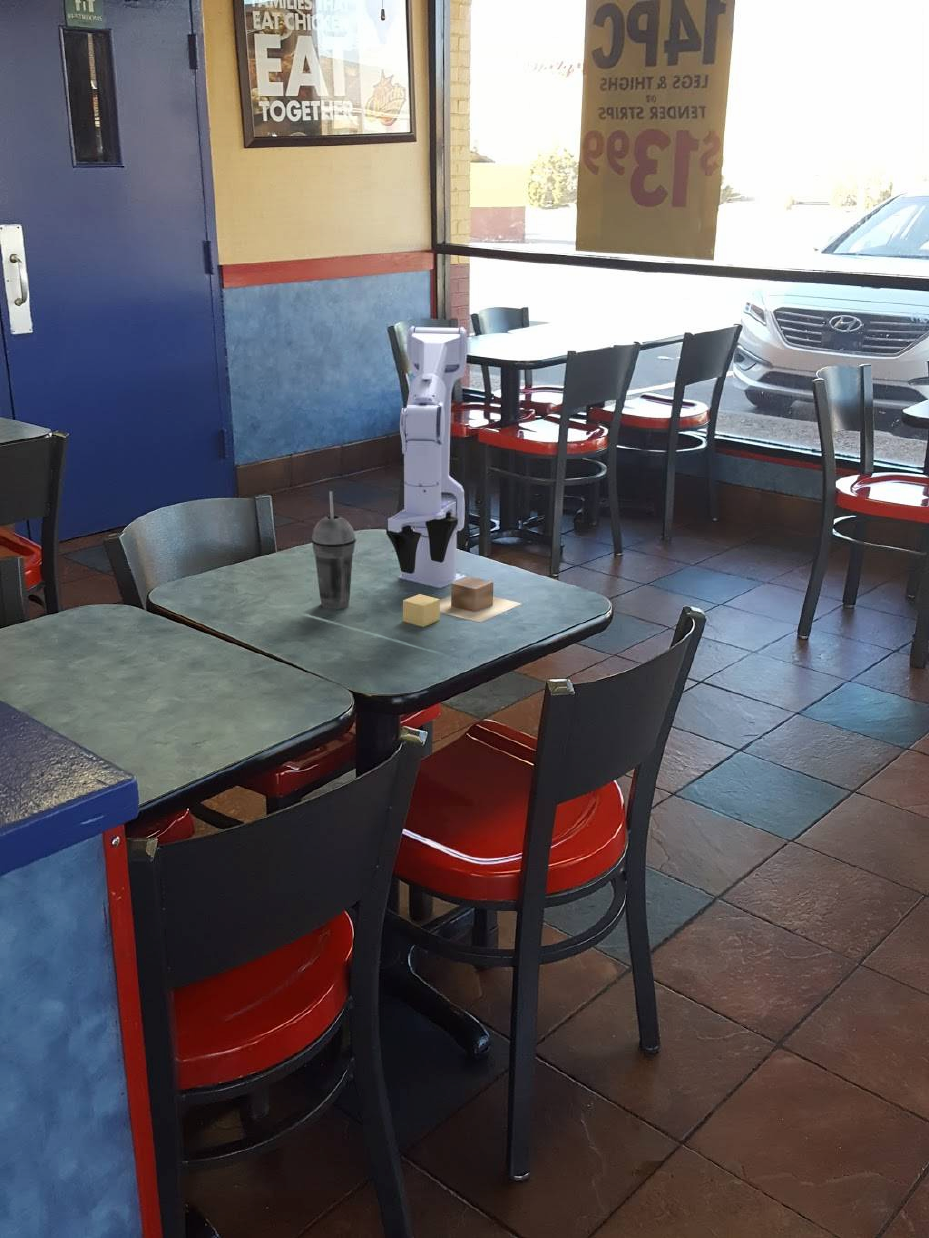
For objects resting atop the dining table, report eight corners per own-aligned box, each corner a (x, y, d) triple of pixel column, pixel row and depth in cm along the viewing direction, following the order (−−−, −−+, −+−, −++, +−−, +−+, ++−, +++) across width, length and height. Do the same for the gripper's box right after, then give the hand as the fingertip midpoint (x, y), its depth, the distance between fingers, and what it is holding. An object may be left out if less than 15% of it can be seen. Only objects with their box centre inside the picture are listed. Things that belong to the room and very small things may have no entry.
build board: (421, 609, 200) (421, 607, 200) (464, 591, 209) (464, 589, 209) (479, 624, 193) (479, 622, 193) (522, 605, 202) (522, 603, 202)
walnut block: (451, 606, 200) (451, 583, 199) (469, 598, 204) (469, 576, 203) (475, 612, 197) (475, 589, 196) (492, 604, 201) (493, 581, 200)
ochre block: (403, 624, 193) (402, 600, 192) (419, 617, 196) (419, 594, 195) (423, 629, 191) (423, 606, 190) (439, 622, 194) (439, 599, 193)
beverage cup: (360, 600, 204) (358, 485, 197) (352, 615, 197) (350, 495, 190) (318, 599, 204) (314, 483, 197) (309, 613, 197) (305, 494, 191)
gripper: (413, 495, 178) (413, 582, 183) (471, 478, 189) (470, 560, 194) (377, 488, 182) (378, 573, 187) (435, 471, 193) (435, 552, 198)
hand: (422, 566), depth 191 cm, fingers open, 7 cm apart
